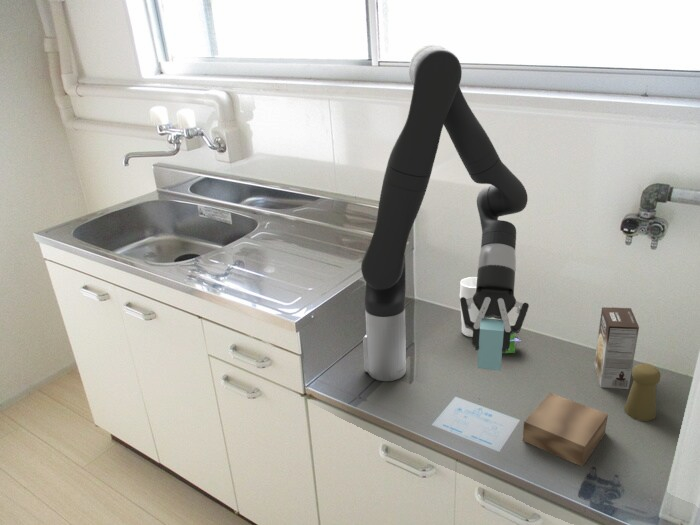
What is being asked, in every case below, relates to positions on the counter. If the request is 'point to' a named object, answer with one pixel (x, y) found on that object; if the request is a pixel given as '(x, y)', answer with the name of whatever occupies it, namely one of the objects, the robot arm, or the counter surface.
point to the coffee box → (616, 347)
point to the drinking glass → (468, 292)
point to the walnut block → (565, 428)
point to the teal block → (490, 344)
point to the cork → (643, 393)
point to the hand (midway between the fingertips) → (490, 350)
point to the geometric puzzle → (513, 343)
